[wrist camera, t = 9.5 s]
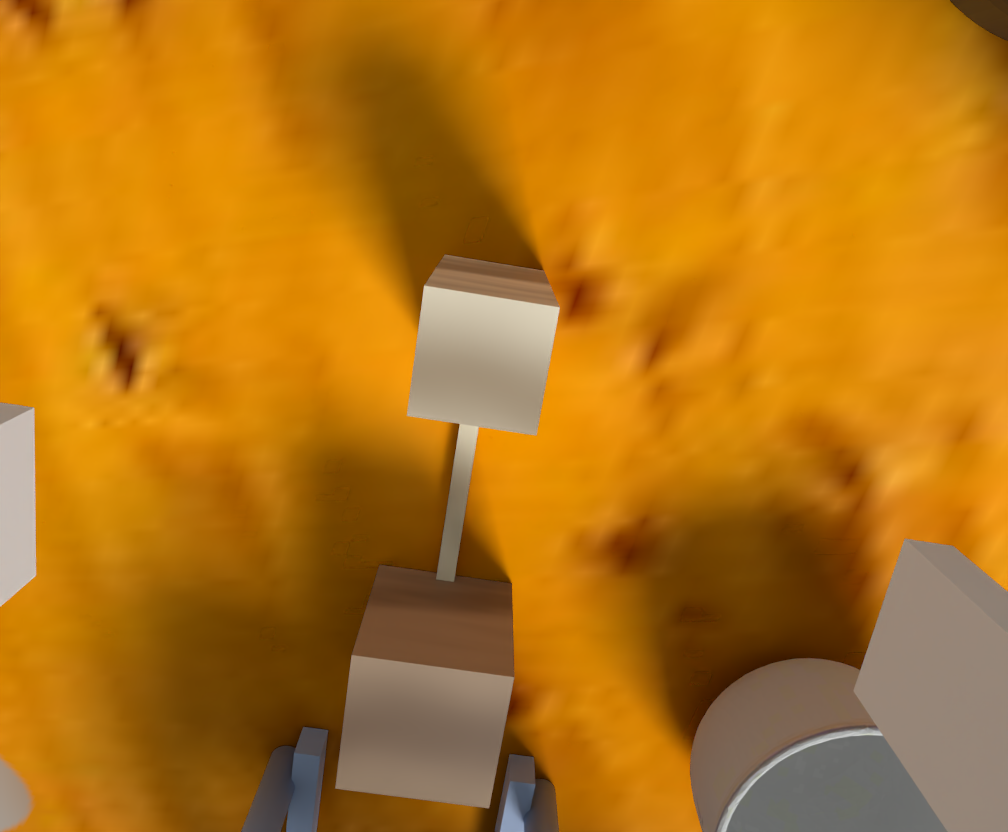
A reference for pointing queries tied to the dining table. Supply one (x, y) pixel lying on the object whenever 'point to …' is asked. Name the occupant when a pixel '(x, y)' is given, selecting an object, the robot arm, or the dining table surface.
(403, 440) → the dining table surface
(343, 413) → the dining table surface
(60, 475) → the dining table surface
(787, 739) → the teacup
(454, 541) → the cream rod with blocks
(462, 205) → the dining table surface
